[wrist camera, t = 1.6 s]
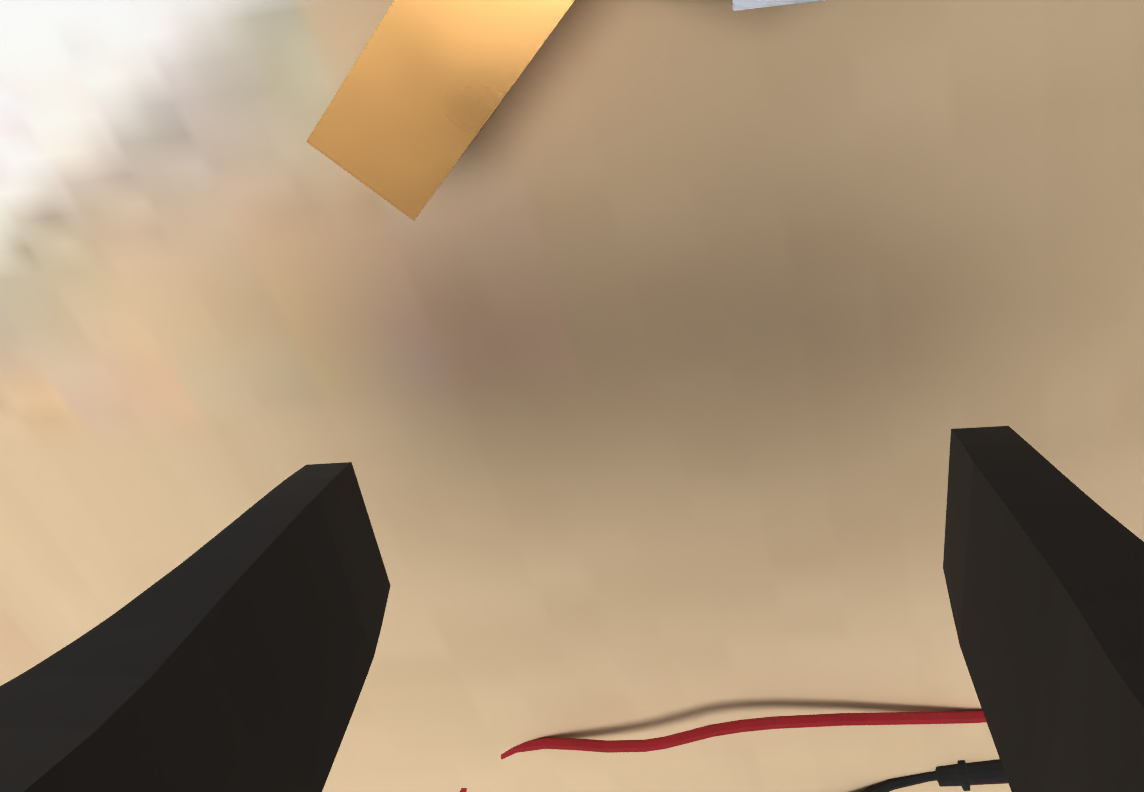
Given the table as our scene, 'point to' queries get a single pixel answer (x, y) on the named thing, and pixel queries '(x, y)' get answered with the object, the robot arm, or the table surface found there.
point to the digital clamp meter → (944, 775)
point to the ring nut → (434, 89)
